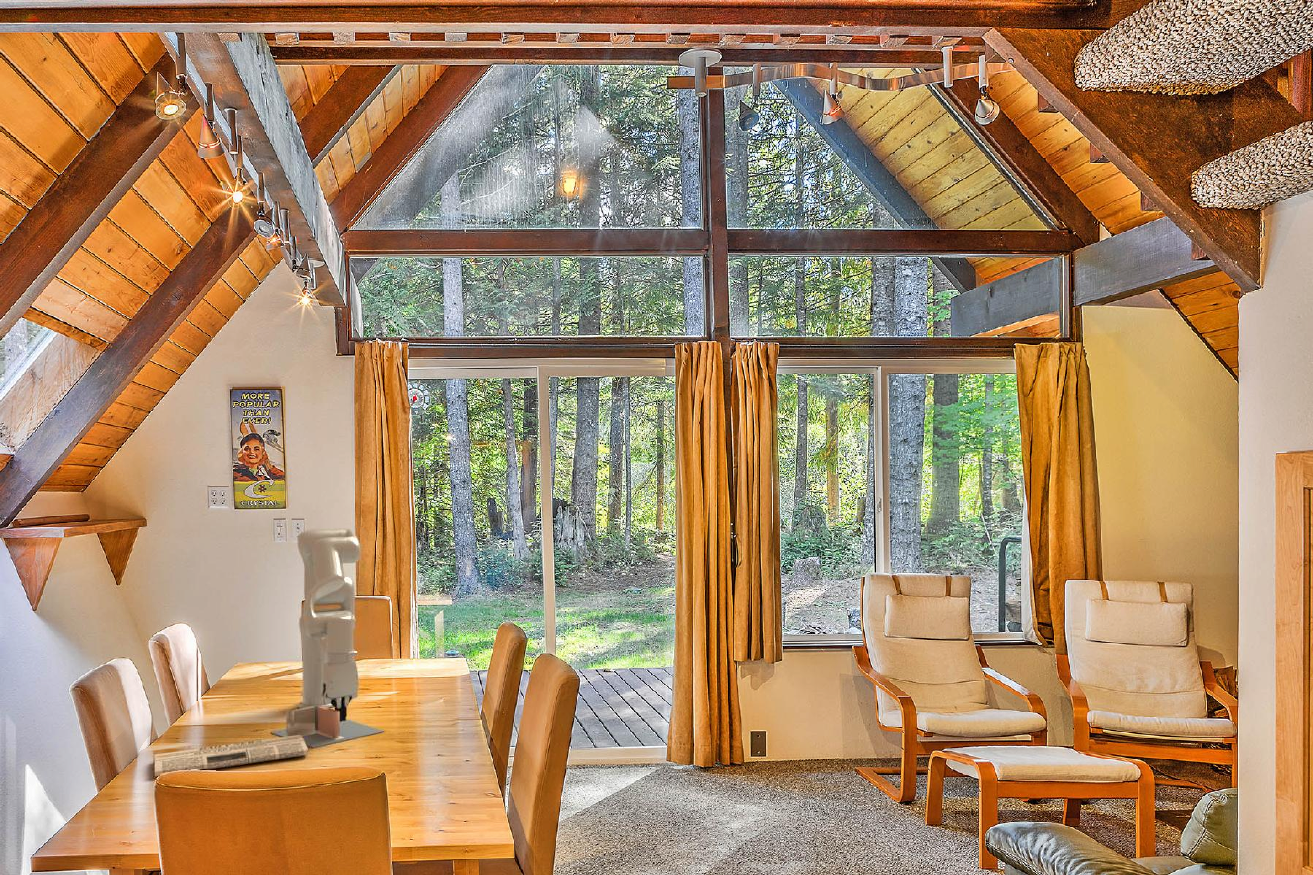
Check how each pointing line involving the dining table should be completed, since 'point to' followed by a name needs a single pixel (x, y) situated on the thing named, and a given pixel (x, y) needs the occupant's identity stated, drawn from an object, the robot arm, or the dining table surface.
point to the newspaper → (231, 754)
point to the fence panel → (327, 721)
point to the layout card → (346, 733)
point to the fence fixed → (300, 721)
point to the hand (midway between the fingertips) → (340, 720)
